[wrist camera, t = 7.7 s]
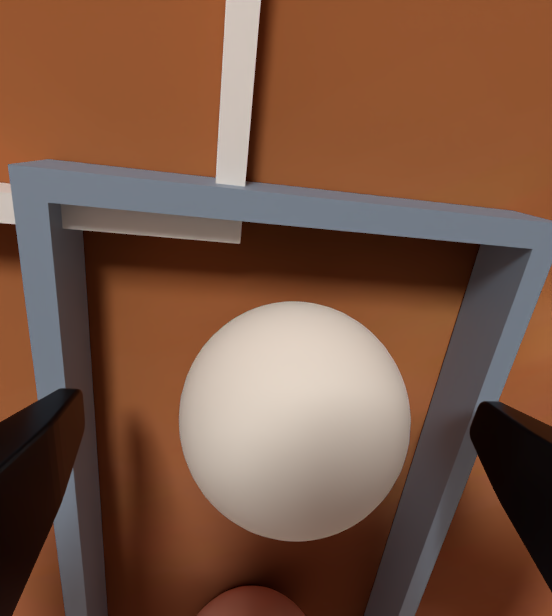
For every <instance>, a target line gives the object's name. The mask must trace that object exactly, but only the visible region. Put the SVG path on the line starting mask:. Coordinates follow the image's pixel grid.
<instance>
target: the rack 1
mask: <svg viewBox="0 0 552 616" xmlns="http://www.w3.org/2000/svg"><path fill="white" fill-rule="evenodd" d="M260 4H261V0H226V11H225V28H224V45H223V63H222V80H221V97H220V115H219V132H218V149H217V167H216V183H217V184H226V185H235V186H245V181H246V170H247V158H248V146H249V134H250V122H251V111H252V99H253V87H254V75H255V63H256V51H257V40H258V28H259V16H260ZM61 215H62V227H63V228H64V229H75V230H87V231H98V232H110V233H121V234H133V235H144V236H156V237H167V238H179V239H190V240H202V241H213V242H225V243H236V244H240V241H241V229H242V221H234V220H224V219H213V218H203V217H192V216H182V215H171V214H161V213H151V212H140V211H130V210H119V209H109V208H98V207H88V206H77V205H67V204H61ZM0 223H6V224H15V217H14V209H13V201H12V193H11V185H10V184H8V183H0Z"/></svg>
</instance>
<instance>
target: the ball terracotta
mask: <svg viewBox="0 0 552 616" xmlns="http://www.w3.org/2000/svg"><path fill="white" fill-rule="evenodd" d="M196 616H305V614H304V613H303V612H302V611H301V609H300V608H299V607H298V606H297V605H296V604H295V603H294V602H293V601H291V600H290V599H289V598H287V597H286V596H285V595H283V594H281V593H280V592H277V591H275V590H273V589H270V588H267V587H262V586H242V587H237V588H234V589H231V590H228V591H226V592H224V593H222V594H220V595H218V596H217V597H216V598H214V599H213V600H211V601H210V602H209V603H208V604H207V605H206V606H205V607H204V608H203V609H202V610H201V611H200V612H199V613H198V614H197V615H196Z"/></svg>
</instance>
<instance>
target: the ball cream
mask: <svg viewBox="0 0 552 616" xmlns="http://www.w3.org/2000/svg"><path fill="white" fill-rule="evenodd" d="M410 425H411V416H410V406H409V399H408V395H407V391H406V387H405V384H404V381H403V379H402V376H401V374H400V371H399V369H398V367H397V365H396V363H395V362H394V360H393V358H392V357H391V355H390V354H389V352H388V351H387V349H386V348H385V346H384V345H383V344H382V343H381V342H380V341H379V340H378V339H377V338H376V337H375V336H374V334H373V333H372V332H371V331H369V330H368V329H367V328H366V327H364V326H363V325H362V324H361V323H359V322H358V321H356V320H354V319H353V318H351V317H349V316H348V315H346V314H344V313H342V312H340V311H338V310H335V309H333V308H330V307H326V306H322V305H319V304H315V303H308V302H298V301H287V302H278V303H272V304H268V305H264V306H260V307H257V308H254V309H252V310H249V311H247V312H245V313H243V314H241V315H239V316H237V317H235V318H234V319H233V320H231V321H230V322H228V323H227V324H225V325H224V326H223V327H222V328H221V329H220V330H219V331H217V332H216V333H215V334H214V335H213V336H212V337H211V338H210V339H209V340H208V342H207V343H206V344H205V345H204V346H203V347H202V349H201V351H200V352H199V354H198V355H197V357H196V358H195V360H194V362H193V364H192V366H191V368H190V370H189V372H188V375H187V377H186V381H185V384H184V388H183V391H182V395H181V400H180V409H179V433H180V439H181V445H182V449H183V454H184V457H185V460H186V462H187V465H188V467H189V470H190V472H191V475H192V477H193V478H194V480H195V482H196V483H197V485H198V487H199V488H200V490H201V491H202V493H203V494H204V496H205V497H206V498H207V499H208V500H209V502H210V503H211V504H212V505H213V506H214V507H215V508H216V509H217V510H218V511H219V512H220V513H222V514H223V515H224V516H225V517H226V518H228V519H229V520H231V521H232V522H234V523H235V524H237V525H239V526H240V527H242V528H244V529H246V530H248V531H250V532H252V533H254V534H257V535H260V536H263V537H267V538H272V539H276V540H282V541H297V542H300V541H311V540H317V539H322V538H325V537H329V536H332V535H335V534H338V533H340V532H342V531H344V530H347V529H349V528H350V527H352V526H354V525H356V524H357V523H359V522H360V521H361V520H363V519H364V518H365V517H367V516H368V515H369V514H370V513H371V512H372V511H373V510H374V509H375V508H376V507H377V506H378V505H379V504H380V503H381V502H382V501H383V500H384V499H385V497H386V496H387V495H388V493H389V492H390V490H391V489H392V487H393V485H394V483H395V482H396V480H397V478H398V476H399V474H400V472H401V470H402V467H403V464H404V461H405V458H406V454H407V450H408V446H409V440H410Z"/></svg>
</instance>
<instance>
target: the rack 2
mask: <svg viewBox="0 0 552 616" xmlns="http://www.w3.org/2000/svg"><path fill="white" fill-rule="evenodd" d="M8 170H9V177H10V185H11V193H12V201H13V209H14V217H15V224H16V232H17V240H18V248H19V256H20V264H21V271H22V279H23V287H24V295H25V303H26V311H27V318H28V326H29V334H30V342H31V350H32V357H33V365H34V373H35V381H36V389H37V397H38V400H40V399H42V398H43V397H45V396H47V395H49V394H50V393H52V392H54V391H56V390H58V389H60V388H72V389H80V390H81V391H82V393H83V400H84V412H85V429H84V434H83V437H82V440H81V444H80V447H79V450H78V453H77V456H76V460H75V463H74V466H73V469H72V472H71V476H70V479H69V482H68V485H67V488H66V491H65V494H64V497H63V500H62V503H61V506H60V508H59V510H58V513H57V515H56V518H55V520H54V530H55V538H56V545H57V553H58V561H59V569H60V577H61V585H62V592H63V600H64V608H65V616H108V611H107V596H106V580H105V565H104V550H103V534H102V519H101V503H100V488H99V473H98V457H97V442H96V427H95V411H94V396H93V380H92V365H91V350H90V334H89V319H88V303H87V288H86V273H85V257H84V242H83V230H75V229H64V228H63V227H62V215H61V204H67V205H77V206H88V207H98V208H109V209H119V210H130V211H140V212H151V213H161V214H171V215H182V216H192V217H203V218H213V219H224V220H234V221H245V222H255V223H266V224H276V225H286V226H297V227H307V228H318V229H328V230H339V231H349V232H360V233H370V234H381V235H391V236H402V237H412V238H422V239H433V240H443V241H454V242H464V243H475V244H481V245H480V248H479V251H478V254H477V257H476V261H475V264H474V267H473V270H472V273H471V277H470V280H469V283H468V286H467V289H466V292H465V296H464V299H463V302H462V305H461V308H460V311H459V315H458V318H457V321H456V324H455V327H454V331H453V334H452V337H451V340H450V343H449V346H448V350H447V353H446V356H445V359H444V362H443V366H442V369H441V372H440V375H439V378H438V381H437V385H436V388H435V391H434V394H433V397H432V401H431V404H430V407H429V410H428V413H427V416H426V420H425V423H424V426H423V429H422V432H421V436H420V439H419V442H418V445H417V448H416V451H415V455H414V458H413V461H412V464H411V467H410V471H409V474H408V477H407V480H406V483H405V486H404V490H403V493H402V496H401V499H400V502H399V506H398V509H397V512H396V515H395V518H394V521H393V525H392V528H391V531H390V534H389V537H388V540H387V544H386V547H385V550H384V553H383V556H382V560H381V563H380V566H379V569H378V572H377V575H376V579H375V582H374V585H373V588H372V591H371V595H370V598H369V601H368V604H367V607H366V610H365V614H364V616H415V613H416V611H417V608H418V606H419V603H420V601H421V598H422V595H423V593H424V590H425V588H426V585H427V583H428V580H429V577H430V575H431V572H432V570H433V567H434V565H435V562H436V559H437V557H438V554H439V552H440V549H441V547H442V544H443V542H444V539H445V536H446V534H447V531H448V529H449V526H450V524H451V521H452V518H453V516H454V513H455V511H456V508H457V506H458V503H459V500H460V498H461V495H462V493H463V490H464V488H465V485H466V482H467V480H468V477H469V475H470V472H471V470H472V467H473V465H474V462H475V459H476V457H477V452H476V450H475V448H474V446H473V443H472V441H471V439H470V434H469V430H470V426H471V423H472V421H473V418H474V415H475V413H476V410H477V407H478V405H479V404H480V403H481V402H483V401H498V400H499V398H500V395H501V393H502V390H503V388H504V385H505V382H506V380H507V377H508V375H509V372H510V370H511V367H512V364H513V362H514V359H515V357H516V354H517V352H518V349H519V346H520V344H521V341H522V339H523V336H524V334H525V331H526V328H527V326H528V323H529V321H530V318H531V316H532V313H533V311H534V308H535V305H536V303H537V300H538V298H539V295H540V293H541V290H542V287H543V285H544V282H545V280H546V277H547V275H548V272H549V269H550V267H551V264H552V221H551V220H547V219H543V218H539V217H535V216H532V215H528V214H524V213H520V212H516V211H511V210H502V209H493V208H484V207H475V206H466V205H457V204H448V203H439V202H430V201H420V200H411V199H402V198H393V197H384V196H375V195H366V194H357V193H348V192H339V191H330V190H321V189H312V188H303V187H294V186H285V185H276V184H267V183H258V182H249V181H245V186H235V185H226V184H217V183H216V178H213V177H204V176H195V175H186V174H177V173H168V172H159V171H150V170H141V169H132V168H123V167H114V166H105V165H96V164H87V163H78V162H69V161H60V160H51V159H47V160H39V161H31V162H23V163H15V164H8Z"/></svg>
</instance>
